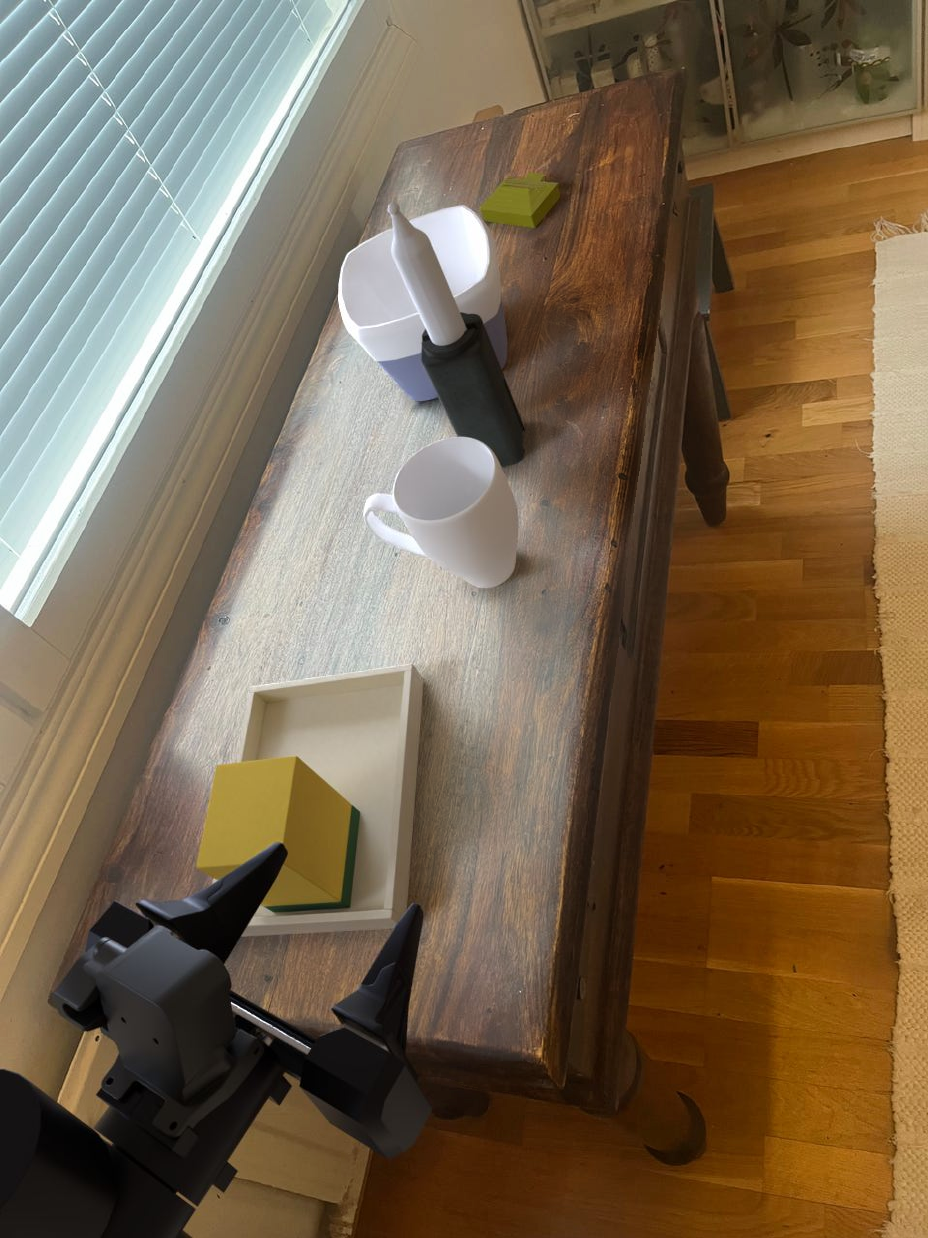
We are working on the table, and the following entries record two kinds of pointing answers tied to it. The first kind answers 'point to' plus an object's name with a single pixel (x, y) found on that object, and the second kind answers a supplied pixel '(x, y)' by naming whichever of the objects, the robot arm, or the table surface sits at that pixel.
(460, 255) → the bowl
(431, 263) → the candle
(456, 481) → the mug
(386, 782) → the tray
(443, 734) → the table surface
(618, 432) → the table surface
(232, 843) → the block
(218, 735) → the table surface
